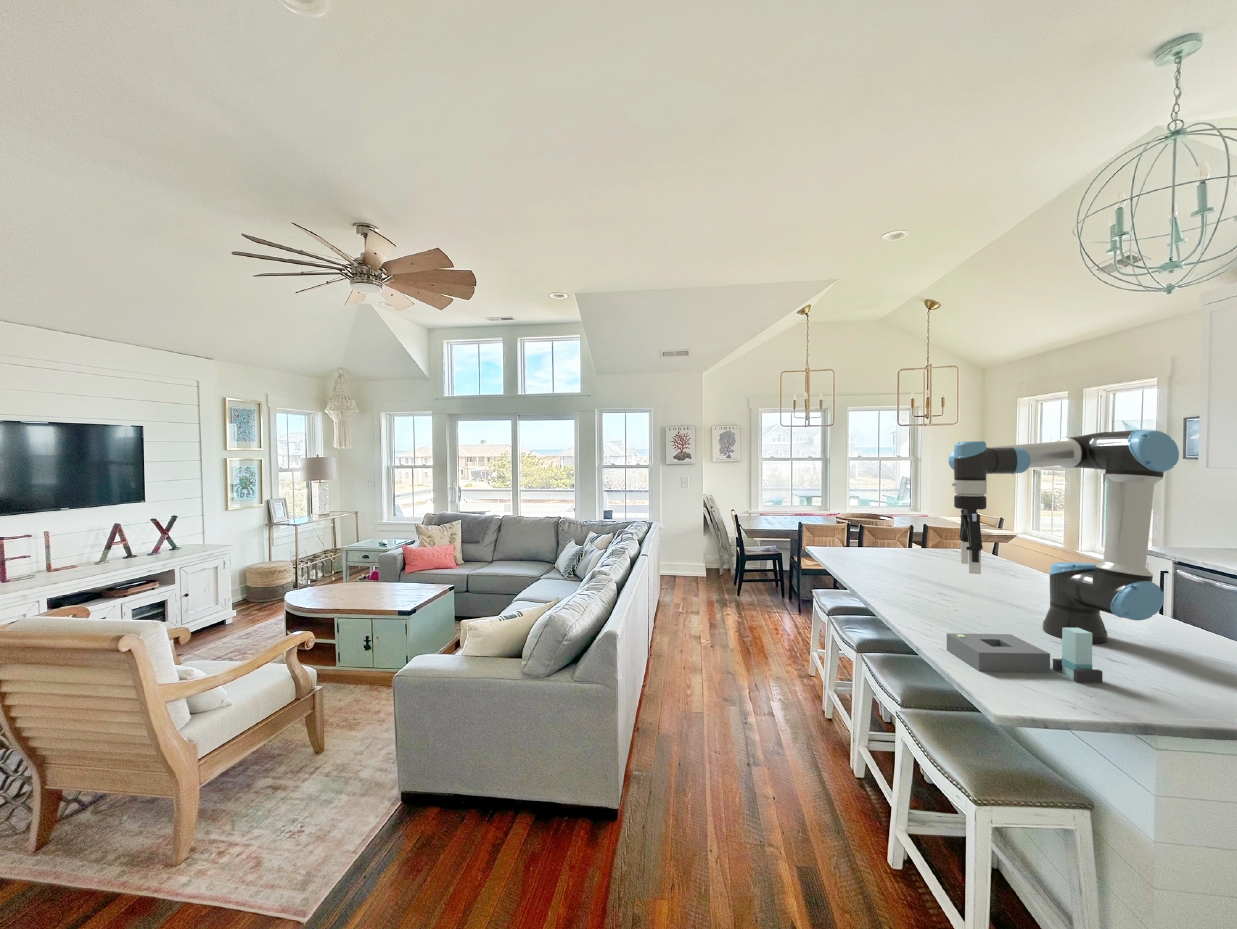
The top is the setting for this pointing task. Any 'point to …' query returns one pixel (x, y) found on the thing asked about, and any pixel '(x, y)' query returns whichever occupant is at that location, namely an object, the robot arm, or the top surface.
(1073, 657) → the plug
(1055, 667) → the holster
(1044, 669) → the port block
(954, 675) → the top surface
